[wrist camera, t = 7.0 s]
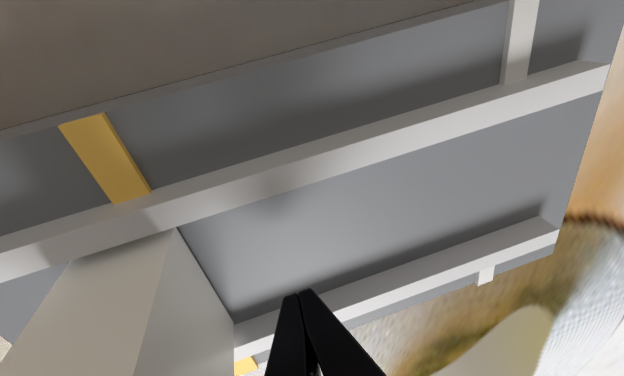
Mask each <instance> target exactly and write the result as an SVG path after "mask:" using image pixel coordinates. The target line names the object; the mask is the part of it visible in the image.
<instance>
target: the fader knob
mask: <svg viewBox="0 0 624 376" xmlns="http://www.w3.org/2000/svg"><path fill="white" fill-rule="evenodd" d="M0 376H234V322H233V321H232V319H231V317H230V316H229V314H228V312H227V311H226V309H225V307H224V306H223V304H222V303H221V301H220V299H219V298H218V296H217V294H216V293H215V291H214V289H213V288H212V286H211V284H210V283H209V281H208V279H207V278H206V276H205V274H204V273H203V271H202V269H201V268H200V266H199V265H198V263H197V261H196V260H195V258H194V256H193V255H192V253H191V251H190V250H189V248H188V246H187V245H186V243H185V241H184V240H183V238H182V236H181V235H180V233H179V232H178V230H177V228H176V227H174V228H171V229H168V230H165V231H162V232H158V233H155V234H152V235H149V236H146V237H143V238H140V239H137V240H133V241H130V242H127V243H124V244H121V245H118V246H115V247H112V248H108V249H105V250H102V251H99V252H96V253H93V254H90V255H87V256H83V257H80V258H77V259H74V260H71V261H69V263H68V264H67V266H66V267H65V269H64V270H63V272H62V273H61V275H60V276H59V277H58V279H57V280H56V282H55V283H54V285H53V286H52V288H51V289H50V291H49V292H48V294H47V295H46V297H45V298H44V300H43V301H42V303H41V304H40V306H39V307H38V309H37V310H36V311H35V313H34V314H33V316H32V317H31V319H30V320H29V322H28V323H27V325H26V326H25V328H24V329H23V331H22V332H21V334H20V335H19V337H18V338H17V340H16V341H15V343H14V344H13V345H12V347H11V348H10V350H9V351H8V353H7V354H6V356H5V357H4V359H3V360H2V362H1V363H0Z"/></svg>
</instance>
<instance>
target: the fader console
mask: <svg viewBox="0 0 624 376" xmlns="http://www.w3.org/2000/svg"><path fill="white" fill-rule="evenodd" d="M623 24H624V0H476V1H472V2H468V3H465V4H461V5H457V6H454V7H450V8H446V9H443V10H439V11H435V12H432V13H428V14H424V15H421V16H417V17H413V18H410V19H406V20H402V21H399V22H395V23H391V24H388V25H384V26H380V27H377V28H373V29H369V30H366V31H362V32H358V33H355V34H351V35H347V36H344V37H340V38H336V39H333V40H329V41H325V42H322V43H318V44H314V45H311V46H307V47H303V48H300V49H296V50H292V51H289V52H285V53H281V54H278V55H274V56H270V57H267V58H263V59H259V60H256V61H252V62H248V63H245V64H241V65H237V66H234V67H230V68H226V69H223V70H219V71H215V72H212V73H208V74H204V75H201V76H197V77H193V78H190V79H186V80H182V81H179V82H175V83H171V84H168V85H164V86H160V87H157V88H153V89H149V90H146V91H142V92H138V93H135V94H131V95H127V96H124V97H120V98H116V99H113V100H109V101H105V102H102V103H98V104H94V105H91V106H87V107H83V108H80V109H76V110H72V111H69V112H65V113H61V114H58V115H54V116H50V117H47V118H43V119H39V120H36V121H32V122H28V123H25V124H21V125H17V126H13V127H10V128H6V129H2V130H0V336H1V337H3V338H4V339H6V340H7V341H8V342H10V343H11V344H12V345H13V344H14V343H15V341H16V340H17V338H18V337H19V335H20V334H21V332H22V331H23V329H24V328H25V326H26V325H27V323H28V322H29V320H30V319H31V317H32V316H33V314H34V313H35V311H36V310H37V309H38V307H39V306H40V304H41V303H42V301H43V300H44V298H45V297H46V295H47V294H48V292H49V291H50V289H51V288H52V286H53V285H54V283H55V282H56V280H57V279H58V277H59V276H60V275H61V273H62V272H63V270H64V269H65V267H66V266H67V264H68V263H69V261H71V260H74V259H77V258H80V257H83V256H87V255H90V254H93V253H96V252H99V251H102V250H105V249H108V248H112V247H115V246H118V245H121V244H124V243H127V242H130V241H133V240H137V239H140V238H143V237H146V236H149V235H152V234H155V233H158V232H162V231H165V230H168V229H171V228H174V227H176V228H177V230H178V232H179V233H180V235H181V236H182V238H183V240H184V241H185V243H186V245H187V246H188V248H189V250H190V251H191V253H192V255H193V256H194V258H195V260H196V261H197V263H198V265H199V266H200V268H201V269H202V271H203V273H204V274H205V276H206V278H207V279H208V281H209V283H210V284H211V286H212V288H213V289H214V291H215V293H216V294H217V296H218V298H219V299H220V301H221V303H222V304H223V306H224V307H225V309H226V311H227V312H228V314H229V316H230V317H231V319H232V321H233V322H234V374H235V375H236V376H240V375H242V374H245V373H248V372H250V371H253V370H256V369H258V364H260V363H262V362H265V361H268V359H269V354H270V350H271V346H272V342H273V338H274V333H275V329H276V325H277V321H278V317H279V312H280V308H281V304H282V300H283V297H284V296H286V295H289V294H291V293H294V292H296V293H298V292H299V291H300V290H303V289H306V288H309V287H310V288H312V289H313V290H314V291H315V293H316V294H317V295H318V296H319V297H320V298H321V300H322V301H323V302H324V303H325V304H326V305H327V307H328V308H329V309H330V310H331V311H332V312H333V314H334V315H335V316H336V317H337V318H338V319H339V321H340V322H341V323H342V324H343V325H344V326H345V328H346V329H347V330H350V329H353V328H356V327H358V326H361V325H364V324H366V323H369V322H372V321H374V320H377V319H380V318H382V317H385V316H388V315H390V314H393V313H396V312H398V311H401V310H404V309H406V308H409V307H412V306H414V305H417V304H420V303H422V302H425V301H428V300H430V299H433V298H436V297H438V296H441V295H444V294H446V293H449V292H452V291H454V290H457V289H460V288H462V287H465V286H468V285H471V284H473V283H476V285H477V286H479V285H482V284H484V283H487V282H490V281H492V280H493V276H495V275H497V274H500V273H503V272H505V271H508V270H511V269H513V268H516V267H519V266H521V265H524V264H527V263H529V262H532V261H535V260H537V259H540V258H543V257H545V256H548V255H551V254H553V250H554V247H555V244H556V241H557V237H558V234H559V231H560V228H561V224H562V221H563V218H564V215H565V212H566V208H567V205H568V202H569V199H570V195H571V192H572V189H573V186H574V182H575V179H576V176H577V173H578V170H579V166H580V163H581V160H582V157H583V153H584V150H585V147H586V144H587V141H588V137H589V134H590V131H591V128H592V124H593V121H594V118H595V115H596V111H597V108H598V105H599V102H600V99H601V95H602V92H603V89H604V86H605V82H606V79H607V76H608V73H609V69H610V66H611V63H612V60H613V57H614V53H615V50H616V47H617V44H618V40H619V37H620V34H621V31H622V27H623Z"/></svg>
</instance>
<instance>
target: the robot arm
mask: <svg viewBox="0 0 624 376" xmlns="http://www.w3.org/2000/svg"><path fill="white" fill-rule="evenodd" d="M319 366H320V367H319ZM320 368H321V371H322V373H323V376H386V374H385V373H384V372H383V371H382V370H381V369H380V367H379V366H378V365H377V364H376V363H375V362H374V360H373V359H372V358H371V357H370V356H369V355H368V353H367V352H366V351H365V350H364V349H363V348H362V346H361V345H360V344H359V343H358V342H357V341H356V339H355V338H354V337H353V336H352V335H351V333H350V332H349V331H348V330H347V329H346V328H345V326H344V325H343V324H342V323H341V322H340V321H339V319H338V318H337V317H336V316H335V315H334V314H333V312H332V311H331V310H330V309H329V308H328V307H327V305H326V304H325V303H324V302H323V301H322V300H321V298H320V297H319V296H318V295H317V294H316V293H315V291H314V290H313V289H312V288H310V287H309V288H306V289H303V290H300V291H299V292H298V293H296V292H294V293H291V294H289V295H286V296H284V297H283V300H282V304H281V308H280V312H279V317H278V321H277V325H276V329H275V333H274V338H273V342H272V346H271V350H270V354H269V359H268V363H267V367H266V371H265V375H264V376H321V371H320Z"/></svg>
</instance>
